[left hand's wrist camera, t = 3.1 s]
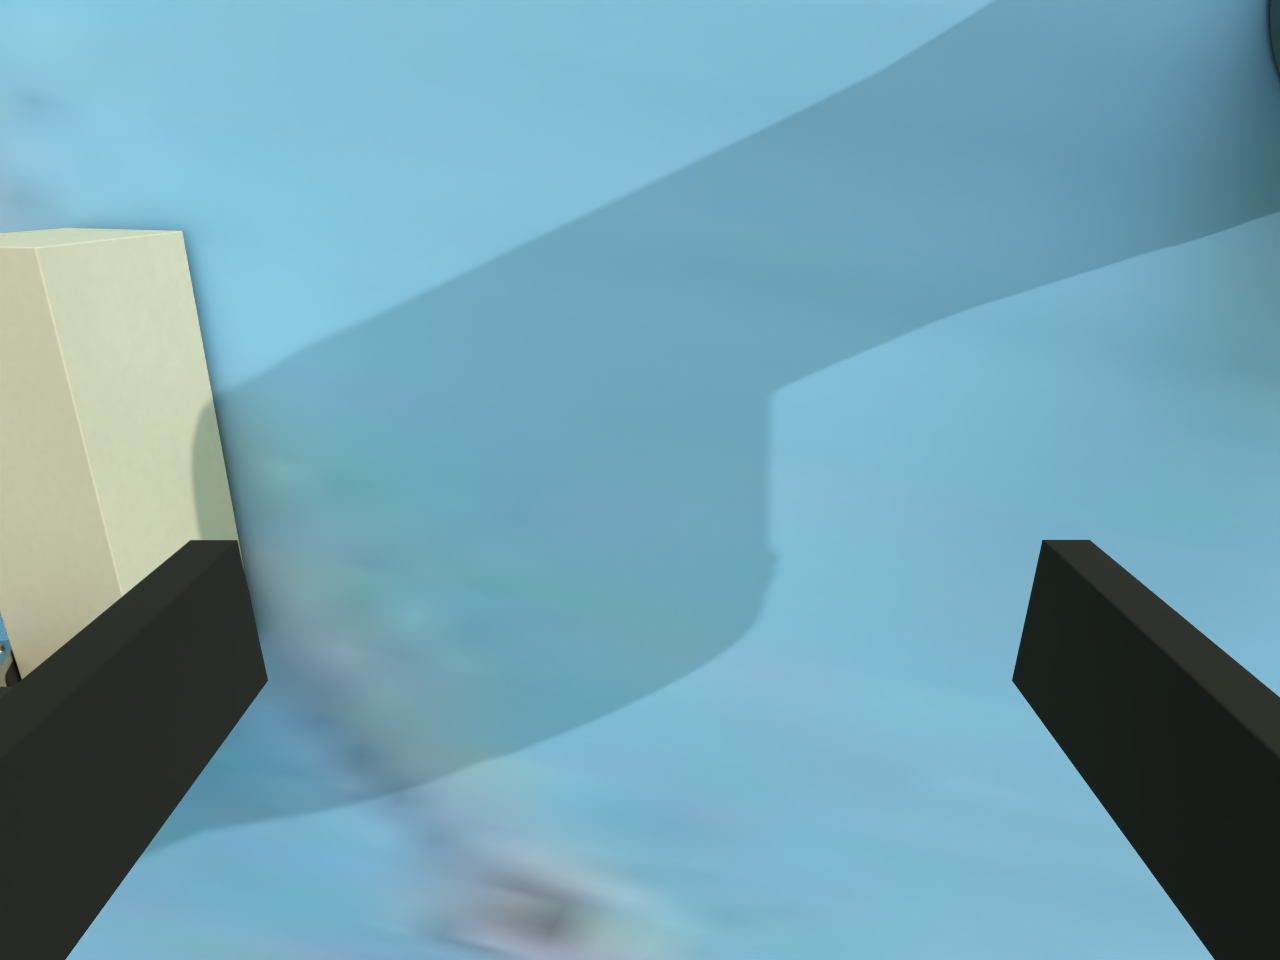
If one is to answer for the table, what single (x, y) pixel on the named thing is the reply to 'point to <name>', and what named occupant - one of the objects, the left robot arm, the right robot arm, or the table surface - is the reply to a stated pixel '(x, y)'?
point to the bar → (99, 426)
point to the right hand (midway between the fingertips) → (143, 621)
